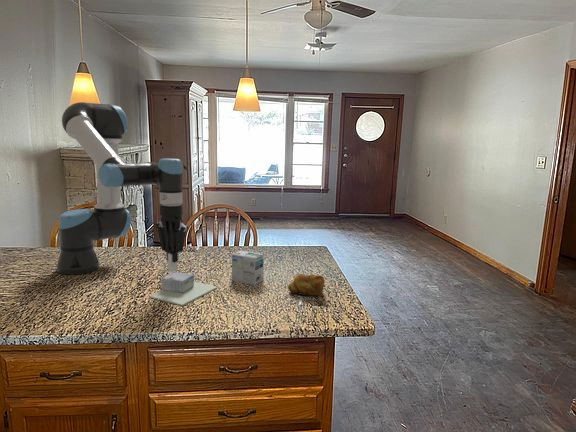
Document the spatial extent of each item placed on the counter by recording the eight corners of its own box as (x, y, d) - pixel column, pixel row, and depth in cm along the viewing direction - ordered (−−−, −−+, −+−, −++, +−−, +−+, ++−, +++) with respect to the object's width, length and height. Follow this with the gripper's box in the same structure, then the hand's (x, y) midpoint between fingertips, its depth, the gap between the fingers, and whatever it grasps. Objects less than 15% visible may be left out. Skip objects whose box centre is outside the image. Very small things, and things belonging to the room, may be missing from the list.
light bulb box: (263, 280, 159) (264, 253, 157) (255, 285, 153) (255, 257, 151) (240, 275, 164) (240, 249, 162) (230, 280, 158) (231, 253, 156)
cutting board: (149, 297, 139) (149, 296, 139) (186, 281, 156) (186, 279, 156) (182, 306, 133) (182, 304, 133) (217, 288, 150) (217, 286, 150)
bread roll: (286, 296, 145) (287, 274, 143) (290, 286, 154) (291, 266, 153) (323, 299, 143) (324, 277, 141) (324, 289, 152) (326, 268, 151)
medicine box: (160, 289, 144) (182, 293, 142) (160, 277, 144) (182, 281, 141) (173, 282, 152) (194, 286, 149) (173, 271, 151) (194, 274, 149)
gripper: (148, 203, 140) (150, 270, 145) (178, 207, 135) (179, 276, 139) (164, 201, 147) (165, 264, 151) (193, 204, 141) (194, 270, 146)
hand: (172, 270), depth 145 cm, fingers closed
